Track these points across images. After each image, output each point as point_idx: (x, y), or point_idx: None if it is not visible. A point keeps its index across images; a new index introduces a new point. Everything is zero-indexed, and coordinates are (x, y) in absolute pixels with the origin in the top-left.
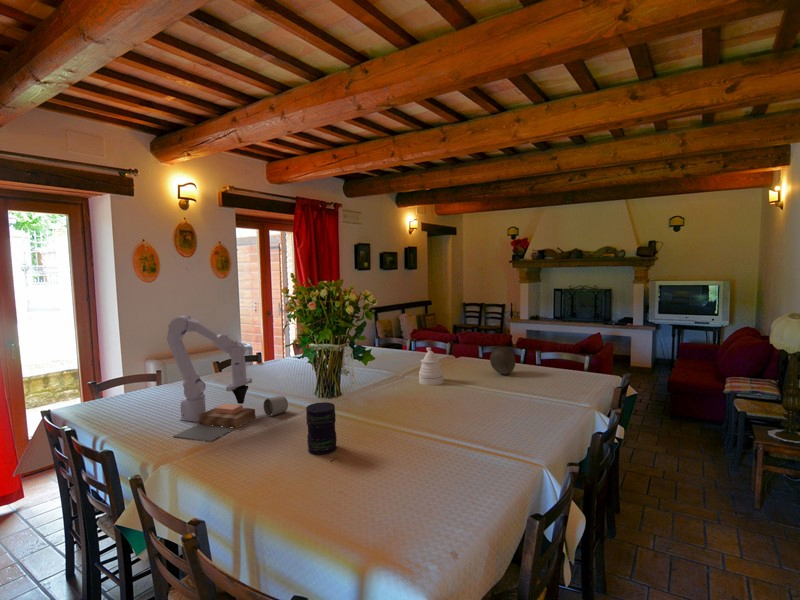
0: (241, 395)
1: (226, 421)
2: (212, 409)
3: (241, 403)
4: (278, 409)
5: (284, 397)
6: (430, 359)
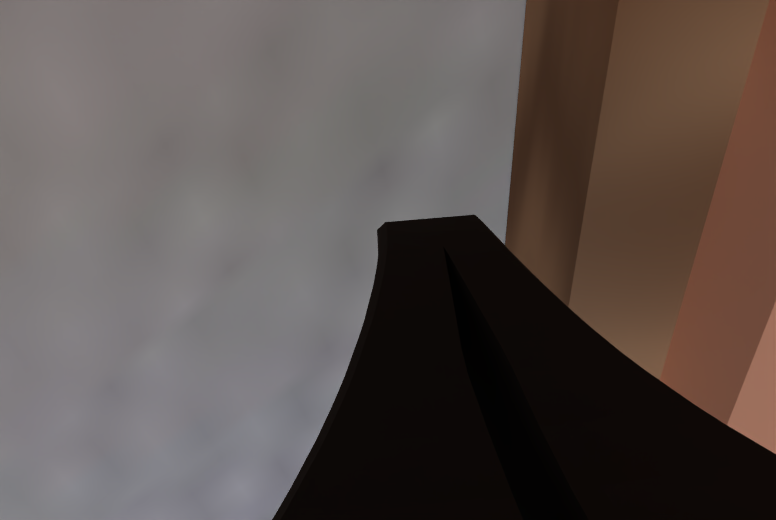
0: (669, 391)
1: None
2: None
3: (483, 225)
4: None
5: None
6: None
